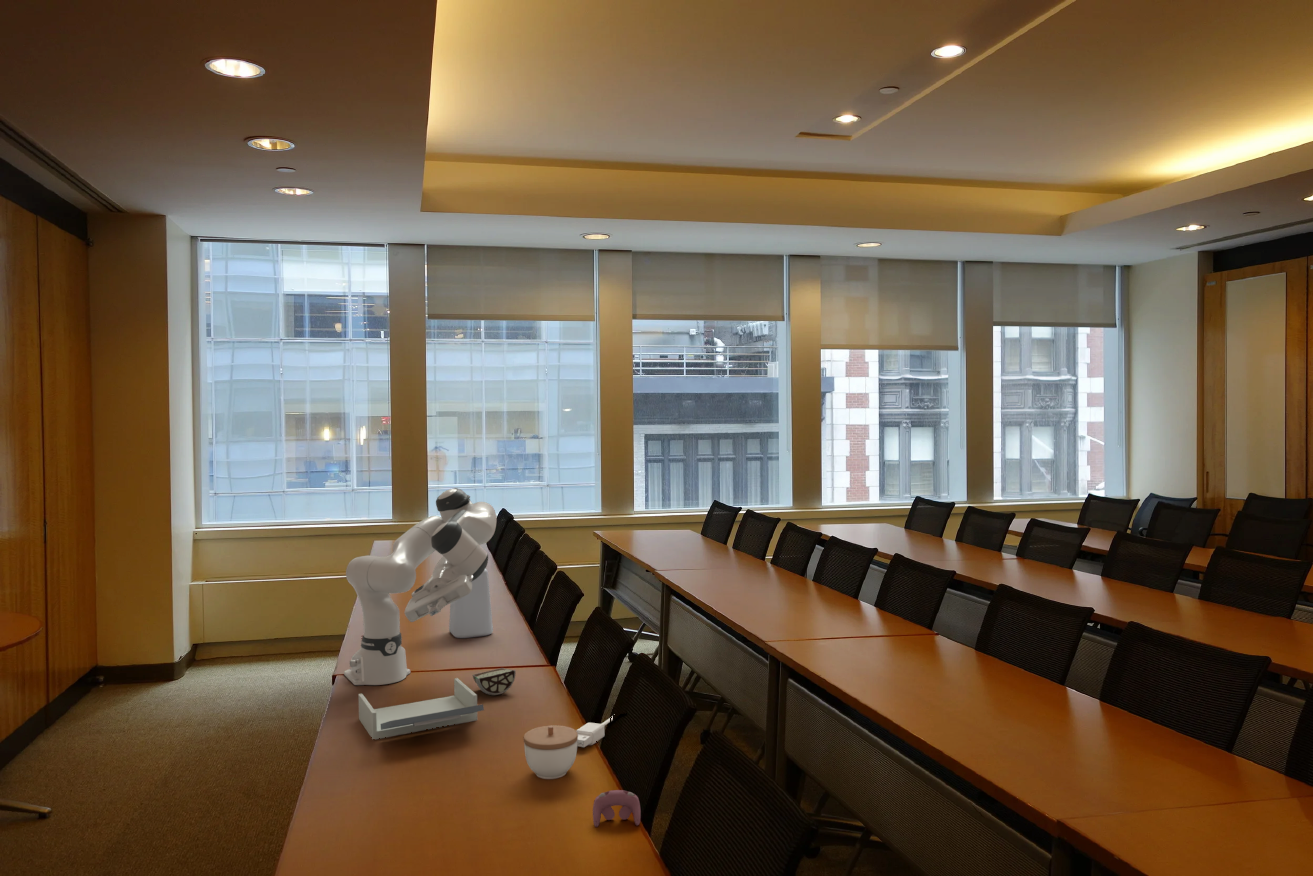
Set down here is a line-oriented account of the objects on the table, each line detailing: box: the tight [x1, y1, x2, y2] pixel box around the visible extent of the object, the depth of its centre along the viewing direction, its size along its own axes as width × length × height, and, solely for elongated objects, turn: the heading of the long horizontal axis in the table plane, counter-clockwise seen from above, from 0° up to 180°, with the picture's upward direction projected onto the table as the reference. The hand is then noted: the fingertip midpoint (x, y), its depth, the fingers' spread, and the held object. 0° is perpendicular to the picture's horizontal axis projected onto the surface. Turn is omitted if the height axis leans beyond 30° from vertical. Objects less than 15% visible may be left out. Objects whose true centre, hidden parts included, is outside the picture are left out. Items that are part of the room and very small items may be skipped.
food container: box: [472, 667, 516, 696], centre depth 268 cm, size 12×6×10 cm
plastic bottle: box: [448, 568, 494, 639], centre depth 338 cm, size 15×15×28 cm
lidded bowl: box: [523, 724, 578, 780], centre depth 207 cm, size 13×13×11 cm
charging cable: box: [575, 715, 614, 748], centre depth 236 cm, size 5×32×3 cm, turn 158°
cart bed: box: [358, 677, 478, 740], centre depth 244 cm, size 18×28×7 cm, turn 120°
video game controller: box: [592, 789, 642, 828], centre depth 183 cm, size 10×5×7 cm, turn 93°
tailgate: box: [381, 703, 485, 730], centre depth 231 cm, size 2×24×12 cm
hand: (434, 612), depth 244 cm, fingers closed
